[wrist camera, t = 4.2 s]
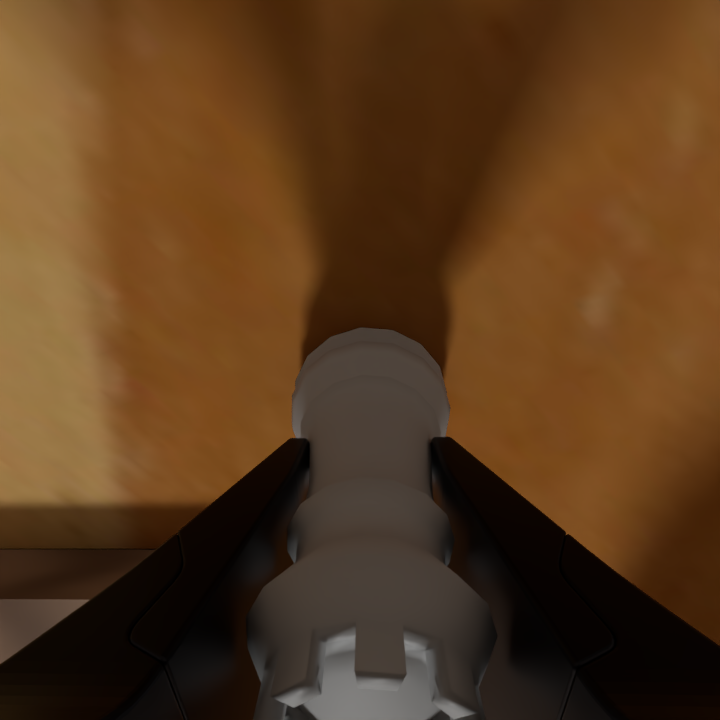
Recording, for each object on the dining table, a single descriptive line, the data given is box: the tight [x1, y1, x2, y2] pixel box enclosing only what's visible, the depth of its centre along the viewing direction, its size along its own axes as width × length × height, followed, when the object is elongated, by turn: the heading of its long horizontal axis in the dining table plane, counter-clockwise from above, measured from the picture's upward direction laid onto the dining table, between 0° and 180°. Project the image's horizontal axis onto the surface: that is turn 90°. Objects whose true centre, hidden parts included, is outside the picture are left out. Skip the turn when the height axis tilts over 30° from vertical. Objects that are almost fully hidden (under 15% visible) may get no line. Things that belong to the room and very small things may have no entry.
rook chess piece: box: [245, 328, 498, 720], centre depth 8 cm, size 4×4×8 cm
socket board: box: [0, 549, 155, 664], centre depth 17 cm, size 20×16×2 cm
